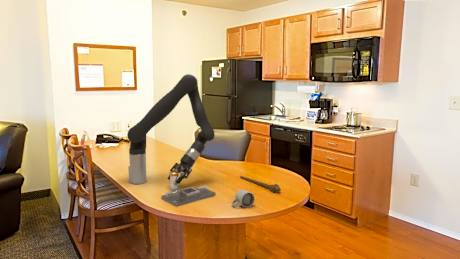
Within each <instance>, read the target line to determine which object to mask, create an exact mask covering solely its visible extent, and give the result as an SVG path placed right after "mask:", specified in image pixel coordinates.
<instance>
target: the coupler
mask: <svg viewBox="0 0 460 259" xmlns="http://www.w3.org/2000/svg"><path fill="white" fill-rule="evenodd" d="M169 175H170V180H169V192H173V191H178V190H179V184H177V183H176V181H177V179H178V178H179V175H180V173H179V172H177V171H172V172H171V171H169Z"/></svg>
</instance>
